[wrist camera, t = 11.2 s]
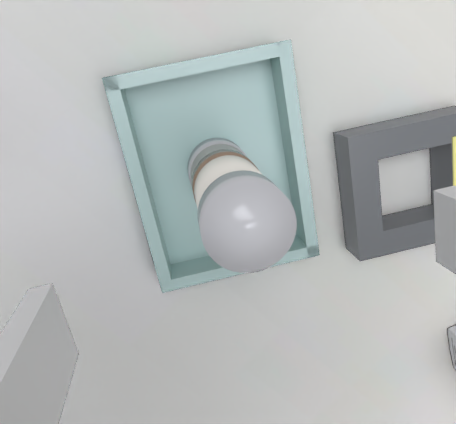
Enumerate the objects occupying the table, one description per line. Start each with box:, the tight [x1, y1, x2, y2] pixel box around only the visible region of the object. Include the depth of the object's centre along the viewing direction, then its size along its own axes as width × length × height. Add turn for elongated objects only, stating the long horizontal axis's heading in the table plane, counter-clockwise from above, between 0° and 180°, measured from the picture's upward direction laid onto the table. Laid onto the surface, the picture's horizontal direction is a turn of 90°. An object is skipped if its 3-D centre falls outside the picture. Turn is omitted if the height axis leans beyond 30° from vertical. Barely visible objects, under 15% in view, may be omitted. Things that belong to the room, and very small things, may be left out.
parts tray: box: [102, 39, 319, 293], centre depth 28 cm, size 11×14×3 cm
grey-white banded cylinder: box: [187, 138, 297, 273], centre depth 23 cm, size 4×4×12 cm
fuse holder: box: [333, 106, 456, 261], centre depth 30 cm, size 9×9×3 cm
